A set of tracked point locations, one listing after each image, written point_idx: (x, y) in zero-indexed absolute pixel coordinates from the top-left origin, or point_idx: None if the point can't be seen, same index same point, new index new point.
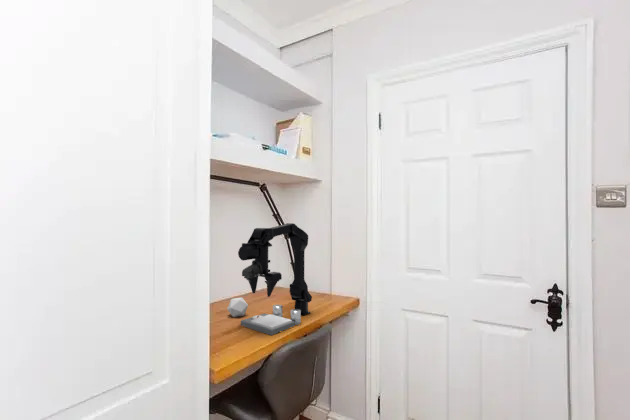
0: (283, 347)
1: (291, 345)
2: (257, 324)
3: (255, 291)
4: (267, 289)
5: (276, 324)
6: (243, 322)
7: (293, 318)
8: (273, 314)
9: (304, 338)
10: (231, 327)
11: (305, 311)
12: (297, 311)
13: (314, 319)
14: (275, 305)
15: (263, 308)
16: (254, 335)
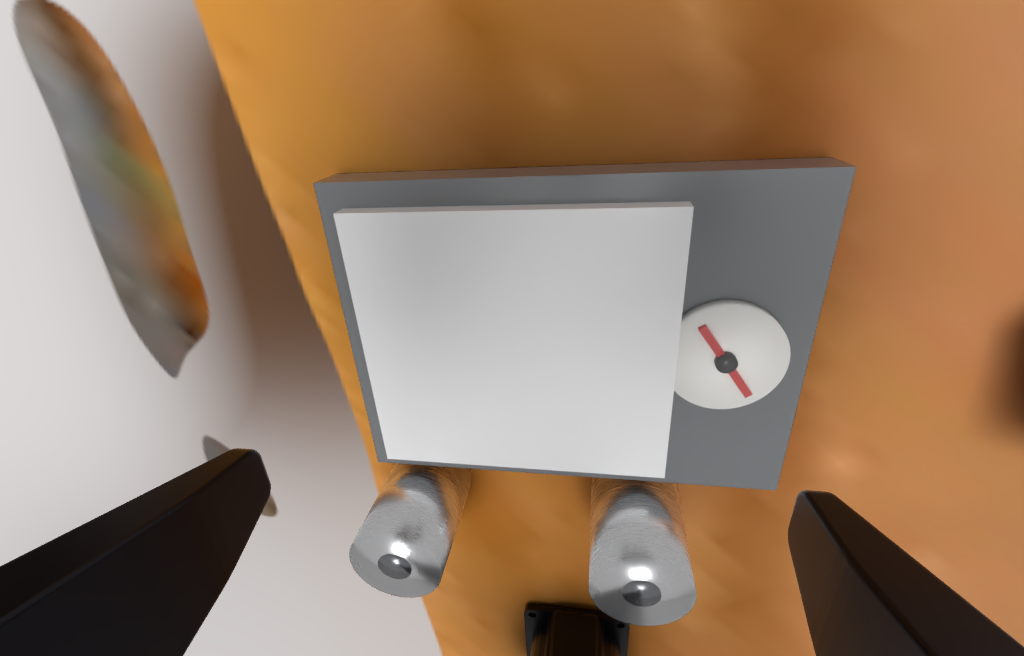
0: (48, 43)
1: (64, 128)
2: (559, 204)
3: (798, 579)
4: (39, 583)
5: (374, 300)
6: (790, 165)
7: (397, 484)
8: (650, 493)
9: (150, 300)
10: (893, 18)
11: (531, 652)
12: (356, 550)
13: None
14: (673, 593)
15: None
16: (451, 50)
